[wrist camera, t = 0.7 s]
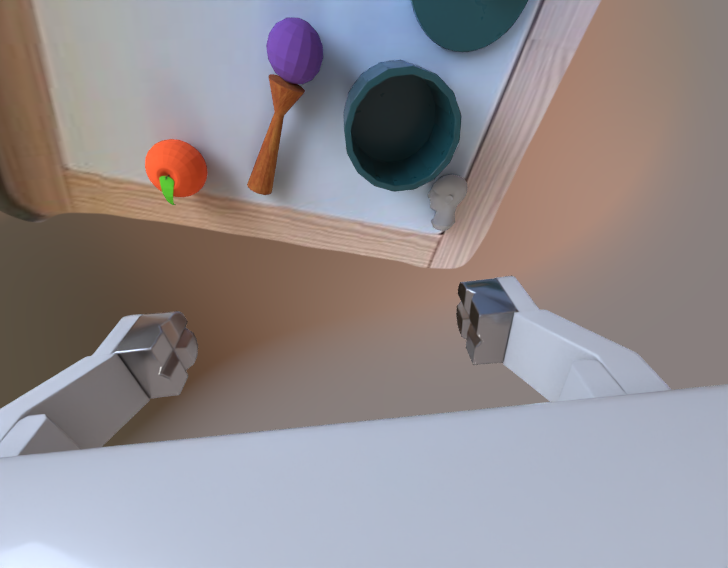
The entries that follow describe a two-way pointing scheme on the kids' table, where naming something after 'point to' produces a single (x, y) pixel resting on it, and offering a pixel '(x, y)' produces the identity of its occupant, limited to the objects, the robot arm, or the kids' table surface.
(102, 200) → the kids' table surface
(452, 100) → the pot
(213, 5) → the kids' table surface
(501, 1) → the lid
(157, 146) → the clementine
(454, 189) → the smooth white sculpture
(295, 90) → the kendama
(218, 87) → the kids' table surface
